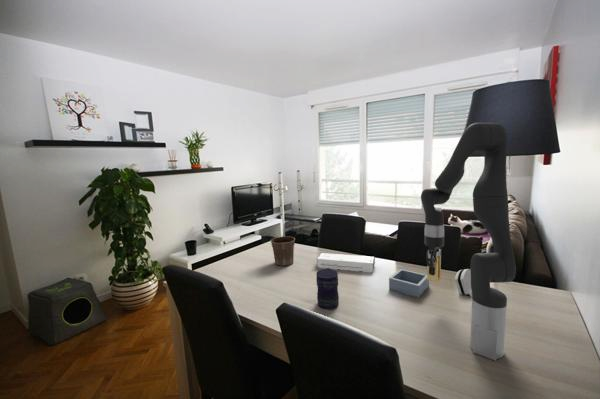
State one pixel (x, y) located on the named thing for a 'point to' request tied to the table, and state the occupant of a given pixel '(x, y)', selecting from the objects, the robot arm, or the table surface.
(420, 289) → the box
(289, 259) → the plant pot
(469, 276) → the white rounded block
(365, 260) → the laminator
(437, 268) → the bracket
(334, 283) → the storage jar
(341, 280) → the table surface
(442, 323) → the table surface
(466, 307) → the table surface
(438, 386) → the table surface
